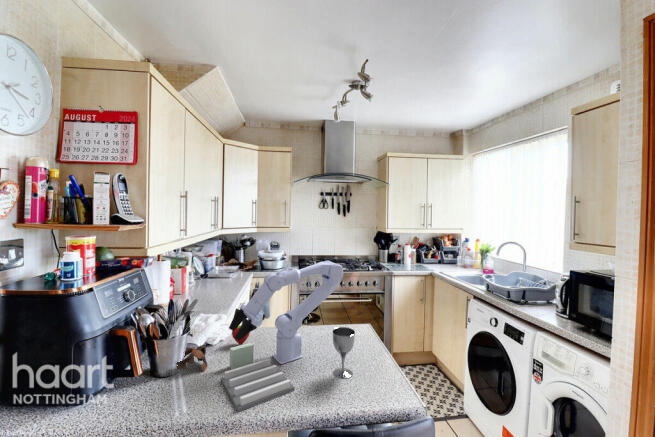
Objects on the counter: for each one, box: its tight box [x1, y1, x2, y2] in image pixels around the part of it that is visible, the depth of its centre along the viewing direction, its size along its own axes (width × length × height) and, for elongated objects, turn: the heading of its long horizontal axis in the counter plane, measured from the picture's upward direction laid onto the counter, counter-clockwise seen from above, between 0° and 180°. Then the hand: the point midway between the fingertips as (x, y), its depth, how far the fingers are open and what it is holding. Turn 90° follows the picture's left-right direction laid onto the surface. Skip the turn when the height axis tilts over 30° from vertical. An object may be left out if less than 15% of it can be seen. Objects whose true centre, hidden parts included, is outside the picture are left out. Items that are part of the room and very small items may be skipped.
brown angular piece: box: [175, 344, 208, 373], centre depth 104 cm, size 12×10×8 cm
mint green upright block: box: [229, 342, 254, 370], centre depth 106 cm, size 8×2×7 cm, turn 125°
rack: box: [220, 358, 295, 413], centre depth 93 cm, size 18×18×3 cm
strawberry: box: [231, 323, 251, 346], centre depth 121 cm, size 6×8×10 cm
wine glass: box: [331, 326, 356, 380], centre depth 101 cm, size 8×8×15 cm
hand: (233, 334), depth 102 cm, fingers open, 7 cm apart
